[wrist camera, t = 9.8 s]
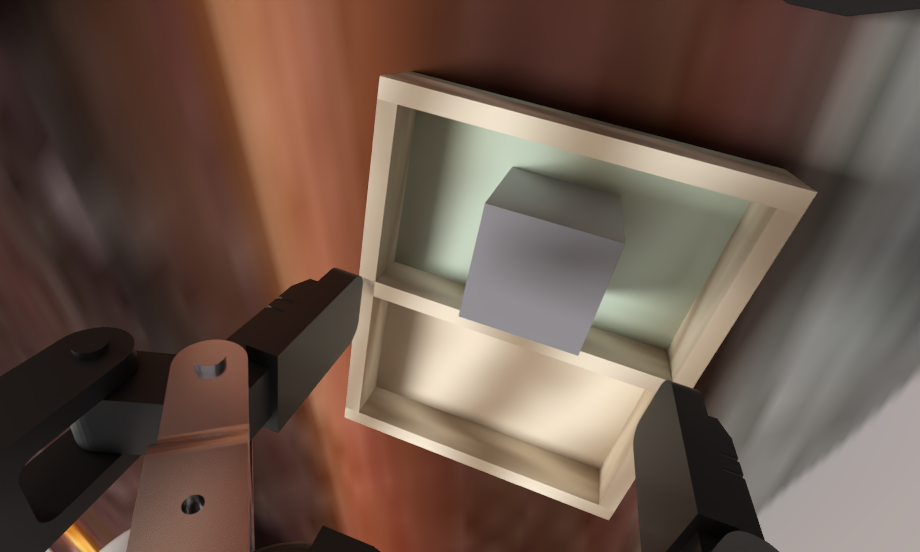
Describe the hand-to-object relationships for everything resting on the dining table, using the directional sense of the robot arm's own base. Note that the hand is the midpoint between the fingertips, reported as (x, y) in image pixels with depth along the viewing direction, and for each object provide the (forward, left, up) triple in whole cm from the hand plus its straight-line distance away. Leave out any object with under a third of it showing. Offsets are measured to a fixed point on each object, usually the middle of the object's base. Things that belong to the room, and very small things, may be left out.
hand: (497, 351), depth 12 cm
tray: (0, -4, -10) cm, 11 cm away
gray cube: (0, 0, -9) cm, 9 cm away
